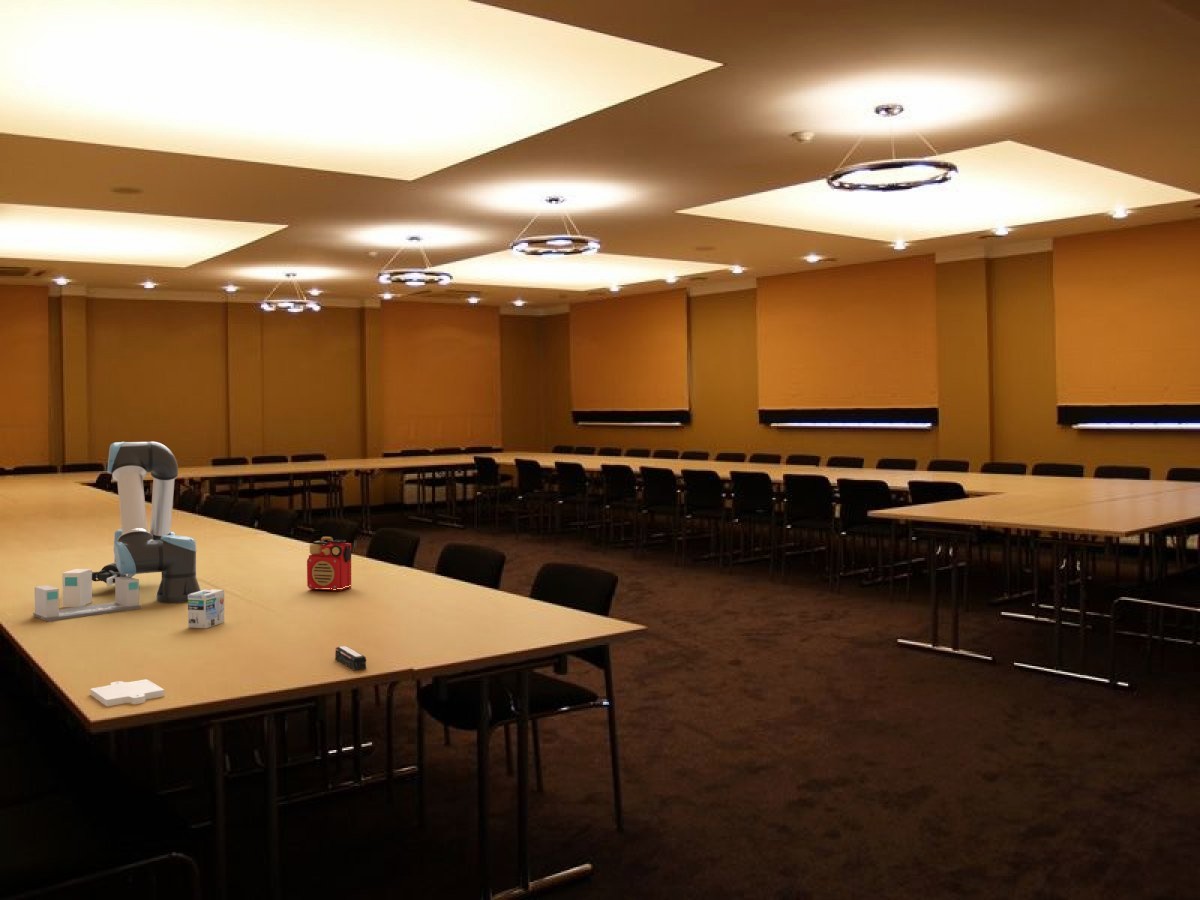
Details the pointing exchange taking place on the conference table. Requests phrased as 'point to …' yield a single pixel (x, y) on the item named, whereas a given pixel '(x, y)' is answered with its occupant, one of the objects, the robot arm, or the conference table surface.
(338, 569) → the radio
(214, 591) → the light bulb box
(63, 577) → the block
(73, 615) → the rail board
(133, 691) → the mounting plate
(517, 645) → the conference table surface
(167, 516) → the robot arm
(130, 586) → the block
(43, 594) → the block
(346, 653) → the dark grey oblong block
